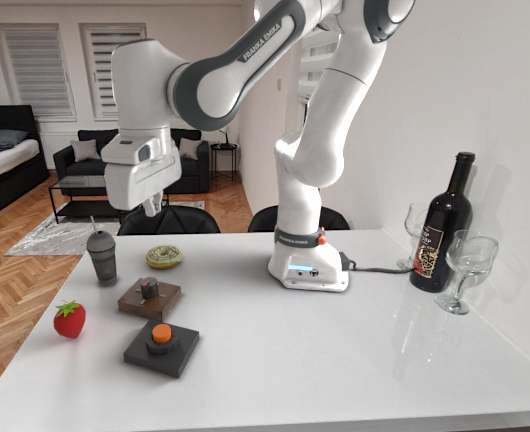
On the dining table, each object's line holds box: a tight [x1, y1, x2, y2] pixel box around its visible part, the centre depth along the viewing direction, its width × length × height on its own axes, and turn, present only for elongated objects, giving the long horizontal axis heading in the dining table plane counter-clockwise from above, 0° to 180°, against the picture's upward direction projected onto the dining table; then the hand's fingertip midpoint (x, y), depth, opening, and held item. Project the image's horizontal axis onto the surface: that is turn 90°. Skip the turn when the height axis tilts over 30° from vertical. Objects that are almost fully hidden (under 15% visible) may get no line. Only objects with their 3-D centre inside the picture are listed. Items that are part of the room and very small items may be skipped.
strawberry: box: [52, 299, 87, 340], centre depth 64 cm, size 6×8×10 cm
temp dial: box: [140, 276, 158, 298], centre depth 74 cm, size 4×4×4 cm
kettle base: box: [123, 319, 201, 379], centre depth 62 cm, size 12×10×4 cm
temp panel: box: [117, 277, 182, 322], centre depth 75 cm, size 12×10×3 cm
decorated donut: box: [145, 244, 183, 270], centre depth 93 cm, size 10×11×4 cm
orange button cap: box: [152, 324, 171, 344], centre depth 61 cm, size 4×4×2 cm
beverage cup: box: [85, 215, 118, 288], centre depth 80 cm, size 7×7×20 cm
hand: (153, 213), depth 60 cm, fingers closed
